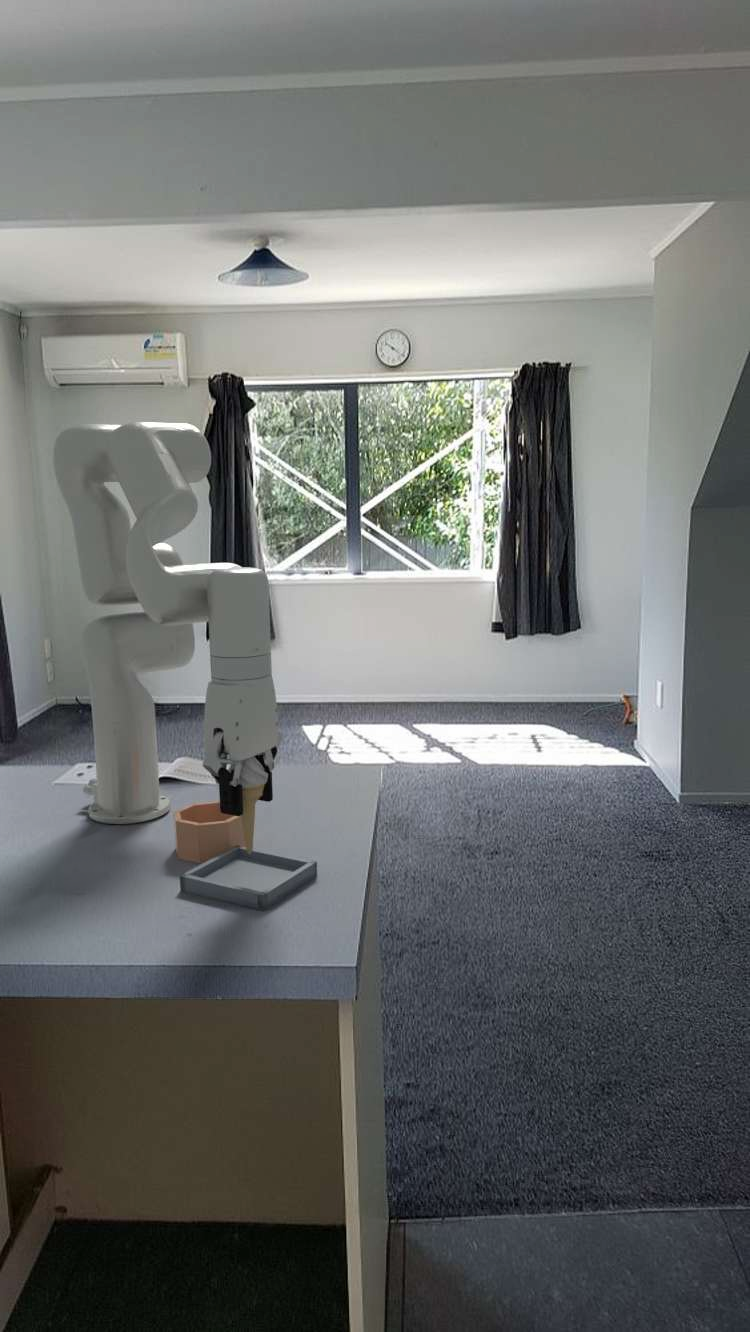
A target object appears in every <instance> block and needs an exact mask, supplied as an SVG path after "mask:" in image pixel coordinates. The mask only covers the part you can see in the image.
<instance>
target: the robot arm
mask: <svg viewBox="0 0 750 1332" xmlns="http://www.w3.org/2000/svg"><path fill="white" fill-rule="evenodd" d="M52 458H53V459H52V461H53V463H52V464H53V469H54V476H55V479H56V482H57V485H58V488H59V491H60V493H61V496H62V497H63V500H64V502H65V504H66V507H67V510H68V512H69V515H70V518H71V522H72V526H73V527H72V528H73V533H74V540H75V547H76V553H77V554H76V555H77V561H78V569H79V573H80V574H79V575H80V580H81V584H82V589H83V592H84V595H85V597H86V598H87V600H88V601H89V602H90V603H91V604H93V605H96V606H99V607H100V606H101V607H102V606H103V607H110V606H111V607H112V606H126V605H127V606H128V605H139V604H140V607H141V608H142V610H143V611H142V612H128V613H127V612H126V613H118V614H109V615H103V616H100V617H99V616H98V617H97V618H95V619H92V620H91V621H88V623H87V624H86V625H85V626H84V628H83V629H82V632H81V634H80V640H79V641H80V649H81V655H82V659H83V663H84V667H85V671H86V674H87V675H86V677H87V681H88V688H89V695H90V702H91V703H90V704H91V714H92V715H91V716H92V718H91V719H92V728H93V729H92V730H93V742H94V743H93V744H94V758H95V760H94V761H95V769H96V771H95V773H96V774H95V775H96V778H91V779H89V781H88V784H87V785H85V786H84V787H83V789H82V792H83V793H84V795H89V796H90V795H92V796H93V802H92V804H91V805H89V806H88V817H89V818H90V819H91V820H94V821H95V822H98V823H102V824H108V825H126V824H138V823H142V822H148V821H150V820H155V819H157V818H159V817H161V816H163V815H165V814H167V813H168V812H169V811H170V809H171V801H170V799H169V798H168V797H166V796H165V795H162V794H160V793H161V792H160V779H159V760H158V759H159V758H158V757H159V756H158V743H157V725H156V723H157V722H156V707H155V702H154V698H153V697H152V694H151V692H150V691H149V690H147V688H146V687H145V686H144V685H143V683H142V682H141V681H140V679H139V678H138V676H139V675H143V674H146V673H153V672H160V671H167V670H174V669H179V668H183V667H185V666H187V665H188V664H189V663H190V662H191V661H192V660H193V657H194V655H195V654H194V653H195V649H196V648H195V646H196V642H195V641H196V639H195V638H196V637H195V631H194V628H195V627H194V624H199V623H205V622H206V623H208V635H209V636H208V637H209V638H208V639H209V656H210V657H209V658H210V659H209V661H210V676H211V677H210V679H211V680H210V681H209V682H208V683H207V687H206V694H205V700H204V701H205V703H204V713H203V714H204V718H203V747H204V748H203V750H204V759H203V762H202V767H203V768H204V769H205V770H206V771H207V772H209V773H210V775H211V777H213V778H214V780H215V784H218V791H219V792H218V794H219V801H220V811H221V813H223V814H228V815H234V816H241V815H243V793H242V785H241V784H238V782H239V776H240V770H241V764H242V761H244V760H247V759H249V758H252V757H254V756H255V758H256V759H257V760H258V761H259V762H260V764H261V765H262V766H263V768H264V772H266V773H268V778H267V782H266V784H264V788H263V792H262V794H263V795H262V796H261V797H260V798H259V799H258V800H257V801H261V802H268V803H269V802H271V801H273V797H274V796H273V795H274V794H273V793H274V792H273V772H272V771H273V770H274V768H275V761H274V760H275V758H276V756H277V754H278V749H279V747H280V745H281V743H282V741H283V738H284V737H283V734H282V733H281V732H280V730H279V719H278V718H279V716H278V715H279V714H278V704H277V696H276V690H275V683H274V678H273V671H272V668H273V667H272V645H271V639H272V638H271V619H270V617H271V615H270V611H271V610H270V585H269V578H268V575H267V573H266V572H265V571H264V570H263V569H260V568H258V567H257V568H256V567H249V566H248V567H243V566H241V565H239V564H236V563H232V562H210V563H204V562H202V563H190V564H189V563H188V564H187V563H186V564H184V563H183V560H182V558H181V556H180V554H179V553H178V551H177V550H176V548H174V547H173V546H172V545H170V544H168V543H165V542H164V541H166V540H168V539H170V538H172V537H173V536H176V535H178V534H179V533H180V532H182V531H183V530H185V529H187V528H188V526H190V525H191V523H192V522H193V520H194V519H195V517H196V515H197V513H198V510H199V509H198V508H199V502H198V499H197V495H196V494H195V492H194V490H193V489H192V487H191V485H190V484H192V483H193V484H195V483H199V482H201V481H202V480H204V479H205V478H206V477H207V476H208V474H209V472H210V468H211V465H212V452H211V448H210V444H209V442H208V440H207V438H206V436H205V435H204V434H203V432H202V431H201V430H200V429H199V428H198V427H196V426H194V425H192V424H189V423H183V422H158V421H156V422H155V421H154V422H153V421H134V422H128V423H124V424H111V423H110V424H109V423H108V424H107V423H87V424H86V423H84V424H77V425H72V426H69V427H67V428H65V429H63V430H61V432H59V434H58V435H57V437H56V439H55V441H54V445H53V457H52ZM104 483H119V485H120V487H121V490H122V492H123V494H124V496H125V498H126V500H127V502H128V505H129V506H130V507H131V510H132V512H133V514H134V516H135V518H136V521H135V522H134V524H133V526H131V521H130V514H129V511H128V510H127V507H125V505H124V504H123V502H122V500H120V499H119V497H118V496H117V495H116V494H115V493H114V491H112V490H111V489H110V488H109V487H107V485H105V484H104ZM131 527H132V528H131ZM228 756H229V758H228ZM228 765H230V766H231V765H232V769H231V773H230V772H229V771H228V769H227V766H228Z"/></svg>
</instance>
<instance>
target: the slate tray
mask: <svg viewBox="0 0 750 1332" xmlns="http://www.w3.org/2000/svg"><path fill="white" fill-rule="evenodd" d="M317 877H318V862H317V861H315V860H310V859H306V858H301V857H297V856H291V855H287V854H282V853H277V852H272V851H267V850H263V849H257V848H254V847H253V850H252V853H251V854H248V853H247V850H246V847H244V846H239V845H237V846H235V847H233V848H231V849H229V850H227V851H225V852H224V853H222V854H220V855H218V856H216V857H214V858H212V859H210V860H208V861H207V862H205V863H202V864H201V863H200V864H199V865H197V866H195V867H194V868H191V869H189V870H188V871H186V872H183V873H182V874H180V875H179V884H180V885H179V887H180V888H179V889H180V891H181V892H184V893H190V894H193V895H197V896H201V897H204V898H210V899H213V900H217V901H221V902H226V903H230V904H234V905H237V906H241V907H242V906H243V907H246V908H250V909H253V910H254V909H255V910H259V911H261V912H264V911H266V910H267V909H269V908H271V907H272V906H274V905H275V904H276V903H278V902H280V901H282V900H283V899H284V898H286V897H287V896H289V895H291V894H292V893H293V892H296V891H297V890H298V889H299V888H301V887H302V886H304V885H305V884H307V883H309V882H310V881H312V880H313V879H315V878H317Z"/></svg>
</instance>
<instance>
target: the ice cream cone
mask: <svg viewBox="0 0 750 1332" xmlns="http://www.w3.org/2000/svg"><path fill="white" fill-rule="evenodd" d="M231 769H232V765H231V764H230V765H229V768H228V769H227V770H228V771H229V772H230V773H231ZM267 778H268V773H266V772H264V768H263V766H262V765H261V764H260V762H259V761H258V760H257V759H256V758H255V756H254V757H252V758H249V759H247V760H244V761H242V764H241V770H240V776H239V782H238V784H241V785H242V793H243V815H241V820H242V825H243V832H244V837H245V843H246V850H247V853H248V854H251V853H252V850H253V848H254V833H255V832H254V831H255V818H256V817H255V815H256V814H255V813H256V804H257V802H258V801H259V800H258V799H259V798H260V797H261V796H262V795H263V794H262V792H263V788H264V784H266V782H267Z"/></svg>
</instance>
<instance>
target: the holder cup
mask: <svg viewBox="0 0 750 1332" xmlns="http://www.w3.org/2000/svg"><path fill="white" fill-rule="evenodd" d="M173 819H174V820H173V822H174V823H173V824H174V837H175V838H174V839H175V841H174V842H175V851H176V855H177V856H176V857H177V859H178V860H181V861H185V862H186V861H187V862H190V863H195V864H199V865H201V864H203V863H205V862H207V861H208V860H210V859H212V858H214V857H216V856H218V855H220V854H222V853H224V852H225V851H227V850H229V849H231V848H233V847H235V846H237V845H239V846H244V847H246V843H245V837H244V832H243V825H242V820H241V816H234V815H228V814H223V813H221V811H220V800H217V801H206V802H196V803H195V802H194V803H191V804H187V805H186V806H183V807H181V808H180V809H177V810H174V811H173Z"/></svg>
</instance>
